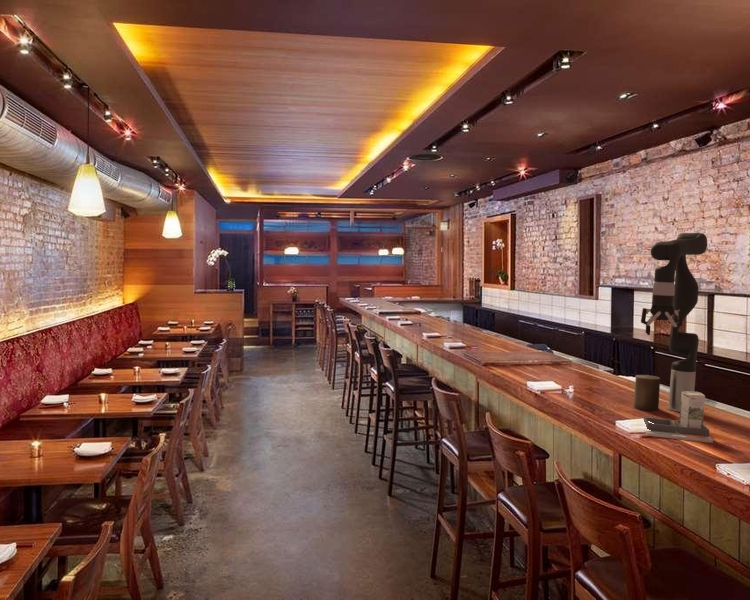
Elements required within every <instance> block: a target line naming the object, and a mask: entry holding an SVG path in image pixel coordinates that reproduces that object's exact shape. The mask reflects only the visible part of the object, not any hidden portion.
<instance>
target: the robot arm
mask: <svg viewBox="0 0 750 600" xmlns="http://www.w3.org/2000/svg"><path fill="white" fill-rule="evenodd" d="M707 248H708V238H707V236H706V234H704V233H702V232H681V233H679V234H678V235H677V237H676V239H672V240H669V241H656V242H655V243H654V244H652V246H651V249H650V255H651V258H653V259H654V260H655V261H668V263H667V264H666V265H663V266H662V265H661V266H658V267H656V268H655V270H654V281H653V286H652V287H653V288H652V295H651V299H652V300H651V307H650V308H645V307H643V308H642V311H641V316H640V317H641V318H640V323H641V324H643V325H645V334H646V335H647V336H650V335H651V324H652V323H653V322H654V321H656V320H657V321H669V323H670V324H671V325H670V332H669V340H668V341H669V342H668V343H669V344H668V348H669V352H670V353H672V354H678V355H679V354H680V355H686V356H687V357H686V358H684V359H681V360H676V361H672V363H671V368H670V371H671V372H670V379H669V380H670V381H669V382H670V383H669V395H668V397H669V398H668V409H669V410H670V411H674V412H678V413H680V406H681V394H682V391H688V392H695V386H696V375H697V373H696V371H697V356H698V350H699V336H698V334H697V333H694V332H681V331H680V328H681V327H682V326H683V322H684V320H685V319H686V318H687V316H688V315H690V313H691V312H692V311H693V310H694V309H695V307H696V305H697V304H698V301H699V283H698V282H697V280H696V278H695V277H694V275H693V273H692V272H691V270H690V268H689V266H688V262H687V256H700V255H702V254H704V253H706V250H707ZM649 313H650V314H651V316H650V317H649V318H648V319H647V318H646V317H647V315H648V314H649ZM646 319H647V321H646Z"/></svg>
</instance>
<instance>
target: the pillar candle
mask: <svg viewBox="0 0 750 600" xmlns="http://www.w3.org/2000/svg"><path fill="white" fill-rule="evenodd" d="M634 380H635V383H634V395H633V396H634V399H633V407H635V409H637V410H641V411H646V412H647V411H648V412H657V410H658V411H659V403H660V390H661V389H660V388H661V387H660V386H661V378H660V377H659V376H656V375H649V373H647V374H637V375H635V379H634Z"/></svg>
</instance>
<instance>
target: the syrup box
mask: <svg viewBox="0 0 750 600" xmlns="http://www.w3.org/2000/svg"><path fill="white" fill-rule="evenodd" d="M705 403H706V395H705V394H703V393H702V392H699V391H694V392H688V391H682V394H681V406H680V412H679V419H678V421H679V424H680V425H681V427H690V428H700V429H702V426H703V424H704V416H705V415H704V414H705V413H704V412H705Z"/></svg>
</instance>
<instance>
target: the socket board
mask: <svg viewBox="0 0 750 600" xmlns="http://www.w3.org/2000/svg"><path fill="white" fill-rule="evenodd" d="M643 420H644V422H645V424H646V427H647V429H649V430H651V431H646V433H645V435H646V436H648V437H657V438H666V439H675V440H681V441H682V440H683V441H684V440H685V441H691V442H701V443H709V444H710V443H711V444H714V439H713V438H712V437H711V436H710V429H709V427H707V426H706V424H705V423H703V426H702V429H700V428H690V427H681V425H680V424H679V419H678V420H675V419H674V420H672V419H667V418H658V417H649V416H648V417H646V416H644V417H643V419H642V421H643ZM648 421H650V422H652V423H654V424H652V423H649V422H648Z"/></svg>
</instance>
